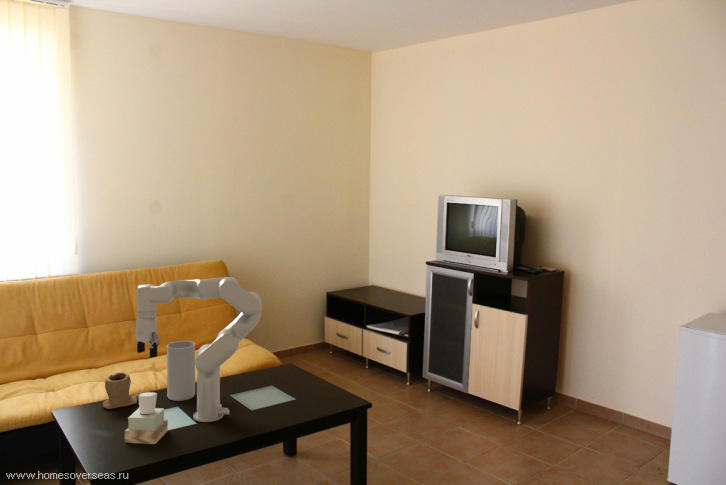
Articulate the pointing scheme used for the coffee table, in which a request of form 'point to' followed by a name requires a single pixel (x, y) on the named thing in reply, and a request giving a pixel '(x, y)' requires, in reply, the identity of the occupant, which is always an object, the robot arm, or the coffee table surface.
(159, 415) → the sage top block
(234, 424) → the coffee table surface
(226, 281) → the robot arm
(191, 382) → the cylinder vase
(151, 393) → the shot glass
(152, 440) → the oak base block
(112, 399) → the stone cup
